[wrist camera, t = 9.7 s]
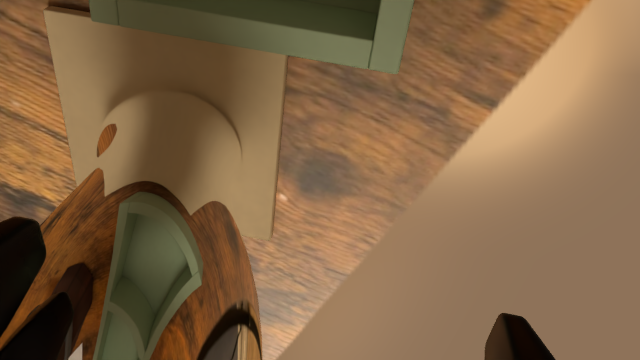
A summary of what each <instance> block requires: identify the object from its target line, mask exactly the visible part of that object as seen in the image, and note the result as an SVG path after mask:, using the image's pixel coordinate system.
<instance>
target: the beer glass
mask: <svg viewBox="0 0 640 360" xmlns="http://www.w3.org/2000/svg"><path fill="white" fill-rule="evenodd" d="M240 165H241V147H240V143H239V139H238V137H237V134H236V132H235V130H234V128H233V127H232V125H231V124H230V122H229V121H228V119H227V118H226V117H225V116H224V115H223V114H222V113H221V112H220V111H219V110H218V109H217V108H215V107H214V106H213V105H211V104H210V103H208V102H207V101H205V100H203V99H201V98H199V97H197V96H194V95H191V94H188V93H184V92H180V91H173V90H155V91H148V92H144V93H140V94H137V95H135V96H133V97H130V98H128V99H127V100H125V101H123V102H122V103H120V104H119V105H118V106H117V107H115V108H114V109H113V110H112V111H111V112H110V113H109V115H108V116H107V117H106V118H105V120H104V121H103V123H102V125H101V127H100V129H99V132H98V135H97V138H96V143H95V150H94V162H93V168H92V170H91V172H90V174H89V175H88V176H87V177H86V178H85V179H84V180H83V182H82V183H81V184H80V185H79V186H78V187H77V188H76V189H75V190H74V191H73V192H72V193H71V194H70V195H69V196H68V197H67V198H66V199H65V200H64V201H63V202H62V203H61V204H60V205H59V206H58V207H57V208H56V209H55V210H54V211H53V212H52V213H51V214H50V215H49V216H48V217H47V218H46V219H45V221H44V222H43V223H42V224H41V225H40V228H41V232H42V235H43V239H44V243H45V246H46V258H45V261H44V264H43V265H42V267H41V269H40V271H39V272H38V274H37V276H36V278H35V280H34V281H33V283H32V285H31V287H30V288H29V290H28V292H27V294H26V296H25V297H24V299H23V301H22V303H21V304H20V306H19V308H18V310H17V312H16V313H15V315H14V317H13V319H12V320H11V322H10V324H9V325H8V327H7V329H6V330H5V332H4V333H3V335H2V336H1V338H0V360H262V334H261V323H260V313H259V303H258V296H257V291H256V286H255V282H254V278H253V273H252V269H251V264H250V260H249V257H248V254H247V250H246V247H245V244H244V240H243V237H242V234H241V231H240V228H239V225H238V222H237V218H236V215H235V212H234V208H233V205H232V198H231V194H232V191H233V189H234V186H235V183H236V181H237V178H238V174H239V170H240Z"/></svg>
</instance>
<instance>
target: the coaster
mask: <svg viewBox="0 0 640 360" xmlns="http://www.w3.org/2000/svg"><path fill="white" fill-rule="evenodd" d="M43 13H44V18H45V23H46V28H47V34H48V39H49V44H50V49H51V54H52V60H53V65H54V70H55V75H56V80H57V86H58V91H59V96H60V101H61V106H62V112H63V117H64V122H65V127H66V132H67V138H68V143H69V148H70V153H71V158H72V164H73V169H74V174H75V179H76V184H77V187H78V186H79V185H80V184H81V183H82V182H83V180H84V179H85V178H86V177H87V176H88V175H89V174H90V172H91V170H92V168H93V162H94V150H95V143H96V138H97V135H98V132H99V129H100V127H101V125H102V123H103V121H104V120H105V118H106V117H107V116H108V115H109V113H110V112H111V111H112V110H113V109H114V108H115V107H117V106H118V105H119V104H120V103H122V102H123V101H125V100H127V99H128V98H130V97H133V96H135V95H137V94H140V93H144V92H148V91H155V90H173V91H180V92H184V93H188V94H191V95H194V96H197V97H199V98H201V99H203V100H205V101H207V102H208V103H210V104H211V105H213V106H214V107H215V108H217V109H218V110H219V111H220V112H221V113H222V114H223V115H224V116H225V117H226V118H227V119H228V121H229V122H230V124H231V125H232V127H233V128H234V130H235V132H236V134H237V137H238V139H239V143H240V147H241V165H240V170H239V174H238V178H237V181H236V183H235V186H234V189H233V191H232V194H231V198H232V205H233V208H234V212H235V215H236V218H237V222H238V225H239V228H240V231H241V234H242V236H246V237H251V238H256V239H261V240H266V241H270V240H271V238H272V235H273V225H274V214H275V202H276V191H277V180H278V168H279V157H280V145H281V134H282V122H283V111H284V99H285V88H286V76H287V65H288V55H282V54H277V53H271V52H265V51H259V50H254V49H248V48H242V47H236V46H230V45H225V44H219V43H213V42H207V41H202V40H196V39H190V38H184V37H178V36H173V35H167V34H161V33H155V32H150V31H144V30H138V29H132V28H127V27H121V26H120V25H119V26H116V25H110V24H105V23H99V22H93V21H92V20H91V13H90V12H84V11H78V10H73V9H67V8H61V7H55V6H50V7H47V8H45V9H44V10H43Z"/></svg>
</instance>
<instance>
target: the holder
mask: <svg viewBox="0 0 640 360" xmlns="http://www.w3.org/2000/svg"><path fill="white" fill-rule="evenodd" d="M413 4H414V0H89V6H90V13H91V20H92V21H93V22H99V23H105V24H110V25H116V26H119V25H120V26H121V27H127V28H132V29H138V30H144V31H150V32H155V33H161V34H167V35H173V36H178V37H184V38H190V39H196V40H202V41H207V42H213V43H219V44H225V45H230V46H236V47H242V48H248V49H254V50H259V51H265V52H271V53H277V54H282V55H288V56H294V57H300V58H305V59H311V60H317V61H323V62H329V63H334V64H340V65H346V66H352V67H357V68H363V69H368V68H369V69H370V70H375V71H381V72H387V73H392V74H398V72H399V68H400V63H401V59H402V54H403V50H404V45H405V41H406V36H407V32H408V27H409V23H410V18H411V14H412V9H413Z"/></svg>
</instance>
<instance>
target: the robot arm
mask: <svg viewBox="0 0 640 360" xmlns="http://www.w3.org/2000/svg"><path fill="white" fill-rule="evenodd" d="M45 258H46V246H45V243H44V239H43V235H42V232H41V228H40V225H39V223H38V222H37V221H36V220H34V219H29V218H24V217H12V218H9V219H7V220H5V221H2V222H0V338H1V336H2V335H3V333H4V332H5V330H6V329H7V327H8V325H9V324H10V322H11V320H12V319H13V317H14V315H15V313H16V312H17V310H18V308H19V306H20V304H21V303H22V301H23V299H24V297H25V296H26V294H27V292H28V290H29V288H30V287H31V285H32V283H33V281H34V280H35V278H36V276H37V274H38V272H39V271H40V269H41V267H42V265H43V264H44V261H45ZM485 360H555V358H554V357H553V355H552V354H551V353H550V351H549V350H548V349H547V347H546V346H545V345H544V343H543V342H542V341H541V339H540V338H539V337H538V335H537V334H536V333H535V331H534V330H533V328H532V327H531V326H530V324H529V323H528V322H527V320H526V319H524V318H523V317H521V316H517V315H512V314H507V313H501V314H500V315H499V316H498V318H497V320H496V322H495V324H494V326H493V328H492V330H491V333H490V335H489V337H488V339H487V342H486V346H485Z"/></svg>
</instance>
